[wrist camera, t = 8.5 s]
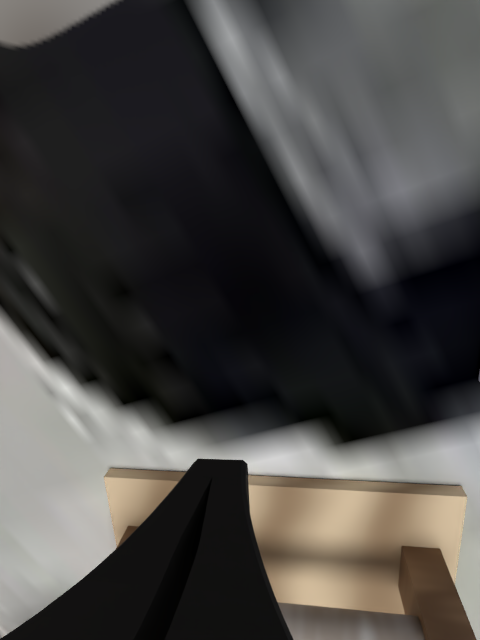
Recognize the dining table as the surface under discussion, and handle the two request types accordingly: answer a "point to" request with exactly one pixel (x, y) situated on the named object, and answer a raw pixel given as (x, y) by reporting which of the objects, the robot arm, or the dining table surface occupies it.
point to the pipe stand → (339, 551)
